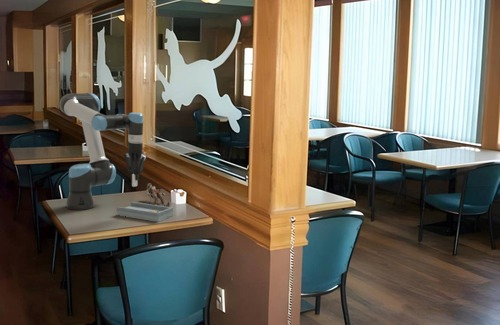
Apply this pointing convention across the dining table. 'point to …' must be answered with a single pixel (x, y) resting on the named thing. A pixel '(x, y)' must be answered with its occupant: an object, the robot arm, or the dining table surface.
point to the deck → (145, 211)
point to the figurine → (156, 195)
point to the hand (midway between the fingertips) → (134, 185)
